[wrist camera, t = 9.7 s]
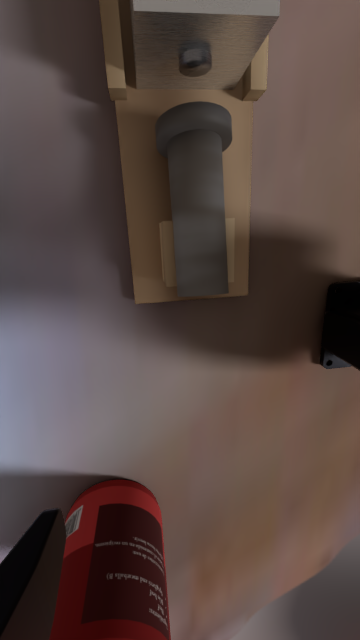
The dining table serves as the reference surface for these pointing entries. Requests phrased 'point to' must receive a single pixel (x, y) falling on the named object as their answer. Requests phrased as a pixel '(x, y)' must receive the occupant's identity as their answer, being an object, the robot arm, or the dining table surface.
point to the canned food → (113, 567)
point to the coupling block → (197, 41)
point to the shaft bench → (157, 178)
